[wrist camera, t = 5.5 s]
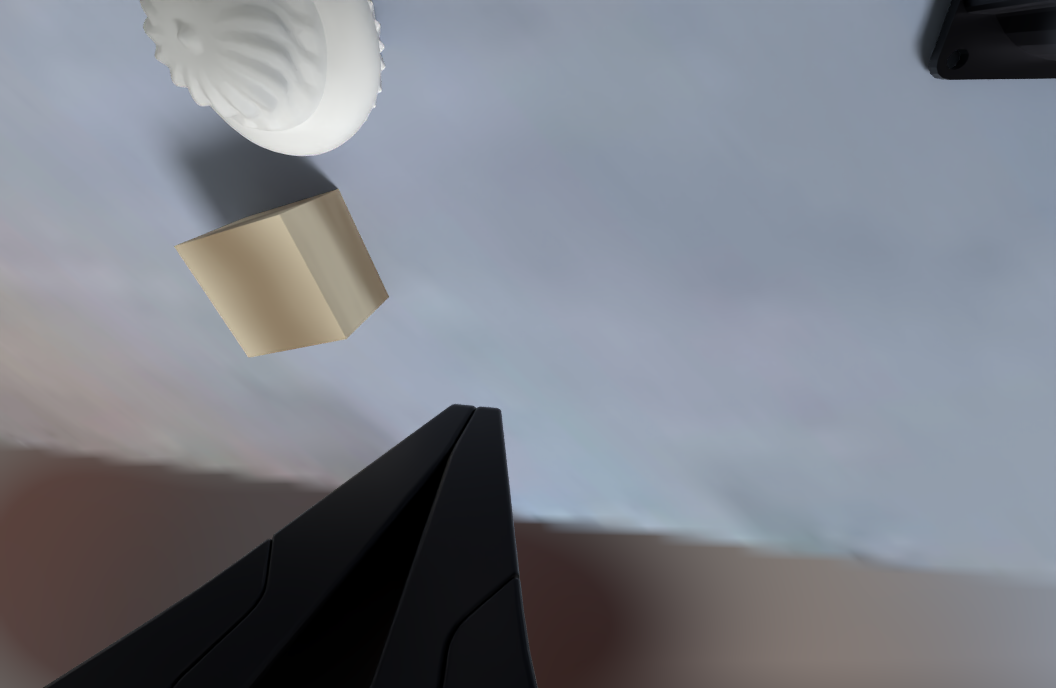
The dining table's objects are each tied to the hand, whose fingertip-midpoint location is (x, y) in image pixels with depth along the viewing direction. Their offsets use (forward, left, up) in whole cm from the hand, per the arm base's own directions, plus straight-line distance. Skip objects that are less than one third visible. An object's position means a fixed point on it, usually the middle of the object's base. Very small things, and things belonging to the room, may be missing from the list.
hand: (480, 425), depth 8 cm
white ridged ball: (+8, -6, -12) cm, 16 cm away
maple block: (+11, +2, -12) cm, 17 cm away
